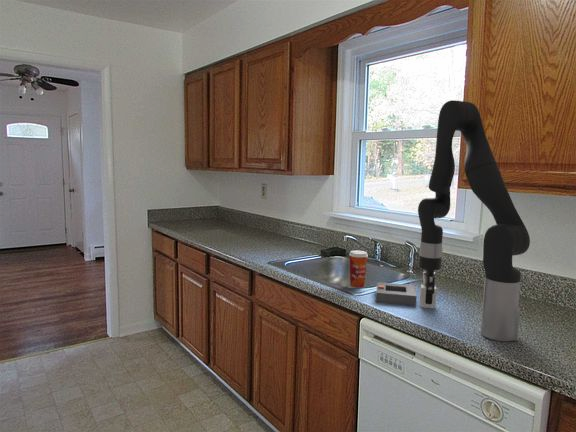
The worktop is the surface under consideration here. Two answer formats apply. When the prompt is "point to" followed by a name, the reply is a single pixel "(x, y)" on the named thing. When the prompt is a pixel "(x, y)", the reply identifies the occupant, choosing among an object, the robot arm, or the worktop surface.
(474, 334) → the worktop surface
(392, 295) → the socket
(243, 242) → the worktop surface
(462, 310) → the worktop surface
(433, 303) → the plug
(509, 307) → the robot arm
